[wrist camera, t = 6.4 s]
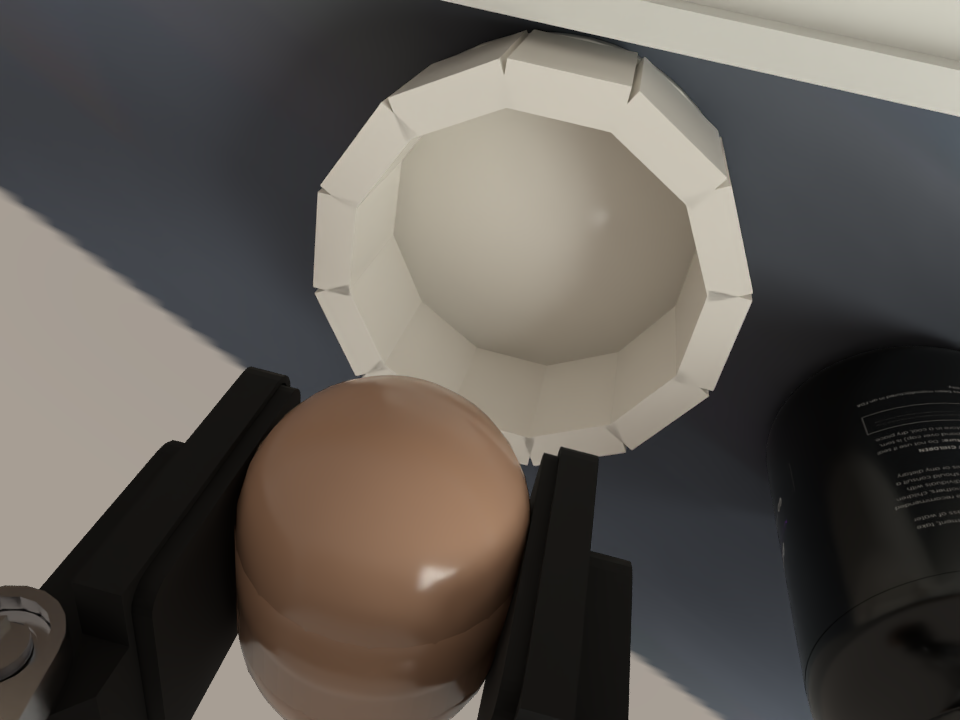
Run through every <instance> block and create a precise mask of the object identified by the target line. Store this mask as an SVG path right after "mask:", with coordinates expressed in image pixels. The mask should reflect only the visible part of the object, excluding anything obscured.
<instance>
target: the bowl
mask: <svg viewBox="0 0 960 720" xmlns="http://www.w3.org/2000/svg"><path fill="white" fill-rule="evenodd" d="M320 186H321V187H322V189H321V190H319V191H318V198H317V218H316V237H315V257H314V277H313V287H315V288H318V290H317V291H316V292H315V295H316V297H317V299H318V301H319V303H320V305H321V307H322V309H323V311H324V313H325V315H326V317H327V319H328V321H329V323H330V325H331V327H332V329H333V331H334V333H335V335H336V337H337V339H338V341H339V343H340V345H341V347H342V349H343V351H344V353H345V355H346V357H347V359H348V361H349V363H350V365H351V367H352V369H353V371H354V373H355V375H356V376H358V375H363V374H364V375H363V376H362V378H364V377H370V376H377V375H399V376H409V377H414V378H419V379H423V380H426V381H430V382H433V383H436V384H438V385H440V386H443V387H445V388H447V389H449V390H451V391H453V392H455V393H457V394H459V395H461V396H463V397H464V398H466V399H467V400H469V401H470V402H472V403H474V404H475V405H476V406H477V407H478V408H480V409H481V410H482V411H483V412H484V413H485V414H486V415H487V416H488V417H489V418H490V419H491V420H492V421H493V422H494V424H495V425H496V426H497V427H498V428H499V430H500V431H501V432H502V433H503V435H504V436H505V437H506V439H507V440H508V441H509V443H510V445H511V447H512V449H513V451H514V453H515V455H516V457H517V459H518V462H519V463H520V464H523V465H528V461H529V458H531V460H532V463H533V465H534V466H537V465H540V463H541V459H542V456H543V453H548V454H552V455H556V456H557V455H558V452H559V449H560V447H561V446H562V447H565V448H569V449H573V450H577V451H581V452H585V453H589V454H593V455H596V456H598V457H599V456H606V455H613V454H620V453H626V446H627V447H629V448H630V449H631V450H633V449H635V448H636V447H637V446H639V445H640V444H642V443H643V442H644V441H646V440H647V439H649V438H650V437H652V436H653V435H654V434H656V433H657V432H659V431H660V430H662V429H663V428H664V427H666V426H667V425H669V424H670V423H672V422H673V421H674V420H676V419H677V418H679V417H680V416H682V415H683V414H684V413H686V412H687V411H689V410H690V409H692V408H693V407H694V406H696V405H697V404H699V403H700V402H702V401H703V400H704V399H706V398H707V397H709V390H711V391H714V388H715V386H716V384H717V381H718V379H719V377H720V374H721V372H722V370H723V368H724V365H725V363H726V361H727V358H728V356H729V354H730V351H731V349H732V347H733V344H734V342H735V340H736V337H737V335H738V333H739V330H740V328H741V326H742V323H743V321H744V319H745V317H746V314H747V312H748V310H749V307H750V305H751V303H752V296H751V294H753V290H752V285H751V280H750V275H749V270H748V265H747V260H746V255H745V250H744V245H743V240H742V235H741V230H740V225H739V220H738V215H737V211H736V206H735V201H734V196H733V191H732V186H731V181H730V176H729V171H728V166H727V162H726V157H725V152H724V147H723V142H722V138H721V137H719V133H718V130H717V129H716V128H715V127H714V126H713V125H712V124H711V123H710V122H709V121H708V120H707V119H706V118H705V117H704V116H703V114H702V113H701V111H700V109H699V108H698V107H697V106H696V104H695V103H694V102H693V101H692V100H691V99H690V97H689V96H688V95H687V94H686V93H685V92H684V90H683V89H682V88H681V87H680V86H679V85H677V84H676V83H675V82H674V81H673V80H672V79H671V78H669V77H668V76H667V75H666V74H665V73H664V72H663V71H661V70H660V69H658V68H657V67H655V66H654V65H653V64H652V63H651V62H650V61H649V60H648V59H647V58H646V57H644V58H641V57H640V56H638V53H637V52H632V51H628V50H625V49H623V48H621V47H619V46H617V45H614V44H611V43H608V42H605V41H601V40H598V39H595V38H591V37H588V36H581V35H575V34H568V33H562V32H544V31H539V30H535V29H534V30H533V31H532V32H531V33H528V32H527V30H525V31H522V32H519V33H517V34H514V35H510V36H506V37H502V38H499V39H495V40H492V41H488V42H485V43H482V44H480V45H477V46H475V47H473V48H471V49H468V50H466V51H464V52H462V53H460V54H458V55H456V56H453V57H450V58H447V59H445V60H442V61H439V62H436V63H433V64H431V65H430V66H429V67H427V68H426V69H425V70H423V71H422V72H421V73H419V74H418V75H417V76H415V77H414V78H413V79H411V80H410V81H409V82H408V83H406V84H405V85H404V86H402V87H401V88H400V89H398V90H397V91H396V92H394V93H393V94H392V95H390V96H389V97H388V98H386V99H385V100H384V101H383V102H381V104H380V105H379V106H378V108H377V109H376V110H375V112H374V113H373V114H372V116H371V117H370V118H369V120H368V121H367V123H366V124H365V125H364V127H363V128H362V129H361V131H360V132H359V133H358V135H357V136H356V137H355V139H354V140H353V142H352V143H351V144H350V146H349V147H348V148H347V150H346V151H345V152H344V154H343V155H342V156H341V158H340V159H339V161H338V162H337V163H336V165H335V166H334V167H333V169H332V170H331V171H330V173H329V174H328V175H327V177H326V178H325V179H324V181H323V182H322V184H321V185H320Z"/></svg>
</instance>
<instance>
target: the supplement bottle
mask: <svg viewBox="0 0 960 720" xmlns="http://www.w3.org/2000/svg"><path fill="white" fill-rule="evenodd" d="M766 462H767V470H768V477H769V484H770V491H771V497H772V503H773V509H774V514H775V520H776V526H777V531H778V537H779V543H780V548H781V554H782V560H783V566H784V571H785V577H786V583H787V588H788V594H789V600H790V605H791V611H792V617H793V623H794V628H795V634H796V640H797V645H798V651H799V657H800V662H801V668H802V674H803V679H804V685H805V690H806V694H807V698H808V702H809V706H810V710H811V713H812V717H813V720H960V352H958V351H955V350H950V349H944V348H939V347H929V346H897V347H888V348H882V349H877V350H872V351H868V352H864V353H860V354H857V355H854V356H851V357H849V358H846V359H843V360H841V361H839V362H837V363H834V364H832V365H831V366H829V367H827V368H825V369H823V370H821V371H820V372H818V373H817V374H815V375H814V376H812V377H811V378H810V379H808V380H807V381H806V382H804V383H803V384H802V385H801V386H800V387H799V388H798V389H797V390H796V391H795V392H794V393H793V394H792V395H791V396H790V397H789V398H788V399H787V401H786V402H785V403H784V405H783V406H782V407H781V409H780V410H779V412H778V414H777V416H776V417H775V419H774V422H773V424H772V427H771V429H770V433H769V436H768V441H767V448H766Z"/></svg>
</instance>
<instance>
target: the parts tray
mask: <svg viewBox="0 0 960 720" xmlns="http://www.w3.org/2000/svg"><path fill="white" fill-rule="evenodd" d="M442 1H447V2H451V3H456V4H460V5H465V6H469V7H473V8H478V9H482V10H487V11H491V12H496V13H500V14H505V15H509V16H514V17H518V18H522V19H527V20H531V21H536V22H540V23H545V24H549V25H554V26H558V27H563V28H567V29H571V30H576V31H580V32H585V33H589V34H594V35H598V36H603V37H607V38H611V39H616V40H620V41H625V42H629V43H634V44H638V45H643V46H647V47H652V48H656V49H660V50H665V51H669V52H674V53H678V54H683V55H687V56H692V57H696V58H701V59H705V60H709V61H714V62H718V63H723V64H727V65H732V66H736V67H741V68H745V69H750V70H754V71H758V72H763V73H767V74H772V75H776V76H781V77H785V78H790V79H794V80H799V81H803V82H807V83H812V84H816V85H821V86H825V87H830V88H834V89H839V90H843V91H848V92H852V93H856V94H861V95H865V96H870V97H874V98H879V99H883V100H888V101H892V102H896V103H901V104H905V105H910V106H914V107H919V108H923V109H928V110H932V111H937V112H941V113H945V114H950V115H954V116H959V117H960V0H442Z"/></svg>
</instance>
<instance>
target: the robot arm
mask: <svg viewBox="0 0 960 720" xmlns="http://www.w3.org/2000/svg"><path fill="white" fill-rule="evenodd" d="M300 398H301V397H300V390H299V389H296V388H292V387H290V380H289V377H288V376H286V375H282V374H278V373H274V372H270V371H266V370H262V369H258V368H255V367H249V368H247V369H246V370H245V371H244V372H243V373H242V374H241V375H240V377H239V378H238V379H237V380H236V381H235V383H234V384H233V385H232V386H231V388H230V389H229V390H228V391H227V392H226V394H225V395H224V396H223V397H222V398H221V400H220V401H219V402H218V403H217V405H216V406H215V407H214V408H213V409H212V411H211V412H210V413H209V414H208V416H207V417H206V418H205V419H204V420H203V422H202V423H201V424H200V425H199V427H198V428H197V429H196V430H195V431H194V433H193V434H192V435H191V436H190V438H189V439H188V440H187V441H186V442H185V443H183V442H179V441H174V440H172V441H170V442H167V443H165V444H164V445H163V446H162V447H161V448H160V449H159V450H158V451H157V452H156V453H155V455H154V456H153V457H152V458H151V459H150V460H149V462H148V463H147V464H146V465H145V467H144V468H143V469H142V470H141V471H140V472H139V473H138V474H137V476H136V477H135V478H134V479H133V480H132V481H131V483H130V484H129V485H128V486H127V487H126V488H125V490H124V491H123V492H122V493H121V494H120V495H119V497H118V498H117V499H116V500H115V501H114V503H113V504H112V505H111V506H110V507H109V508H108V509H107V511H106V512H105V513H104V514H103V515H102V516H101V518H100V519H99V520H98V521H97V522H96V523H95V525H94V526H93V527H92V528H91V529H90V531H89V532H88V533H87V534H86V535H85V536H84V537H83V539H82V540H81V541H80V542H79V543H78V545H77V546H76V547H75V548H74V549H73V550H72V551H71V553H70V554H69V555H68V556H67V557H66V559H65V560H64V561H63V562H62V563H61V564H60V566H59V567H58V568H57V569H56V570H55V572H54V573H53V574H52V575H51V576H50V577H49V578H48V580H47V581H46V582H45V583H44V584H43V585H42V587H41V588H40V589H36V588H33V587H29V586H1V587H0V720H191V719H192V717H193V715H194V713H195V711H196V709H197V707H198V706H199V704H200V702H201V700H202V698H203V696H204V695H205V693H206V691H207V689H208V687H209V685H210V684H211V682H212V680H213V678H214V676H215V674H216V673H217V671H218V669H219V667H220V665H221V663H222V661H223V660H224V658H225V656H226V654H227V652H228V651H229V649H230V647H231V645H232V643H233V641H234V640H235V638H236V636H237V634H238V628H237V607H236V568H235V518H236V510H237V503H238V498H239V493H240V489H241V485H242V482H243V479H244V476H245V474H246V472H247V470H248V467H249V465H250V463H251V461H252V459H253V457H254V455H255V453H256V451H257V449H258V447H259V445H260V444H261V443H262V441H263V440H264V439H265V438H266V437H267V435H268V434H269V433H270V432H271V431H272V429H273V428H274V427H275V426H276V425H277V424H278V422H279V421H280V420H281V419H282V418H283V417H284V416H285V414H287V413H288V412H289V411H291V410H292V409H293V408H295V407H296V406H297V405H299V404H300ZM598 461H599V458H598V456H596V455H593V454H589V453H585V452H581V451H577V450H573V449H569V448H565V447H562V446H561V447H560V449H559V452H558V455H557V456H556V455H552V454H548V453H543V456H542V459H541V463H540V466H539V470H538V473H537V476H536V480H535V483H534V487H533V490H532V494H531V497H530V507H531V520H530V527H529V532H528V536H527V541H526V546H525V550H524V555H523V559H522V563H521V567H520V570H519V574H518V578H517V581H516V585H515V589H514V593H513V596H512V599H511V602H510V606H509V609H508V612H507V616H506V619H505V622H504V626H503V629H502V632H501V636H500V639H499V642H498V646H497V649H496V652H495V656H494V659H493V662H492V666H491V669H490V671H489V673H488V675H487V677H486V679H485V684H484V689H483V694H482V699H481V704H480V708H479V713H478V718H477V720H628V710H629V708H628V707H629V677H630V643H631V610H632V565H631V562H630V561H626V560H623V559H619V558H615V557H611V556H608V555H604V554H600V553H596V552H593V551H590V548H591V538H592V527H593V516H594V505H595V495H596V484H597V473H598Z"/></svg>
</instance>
